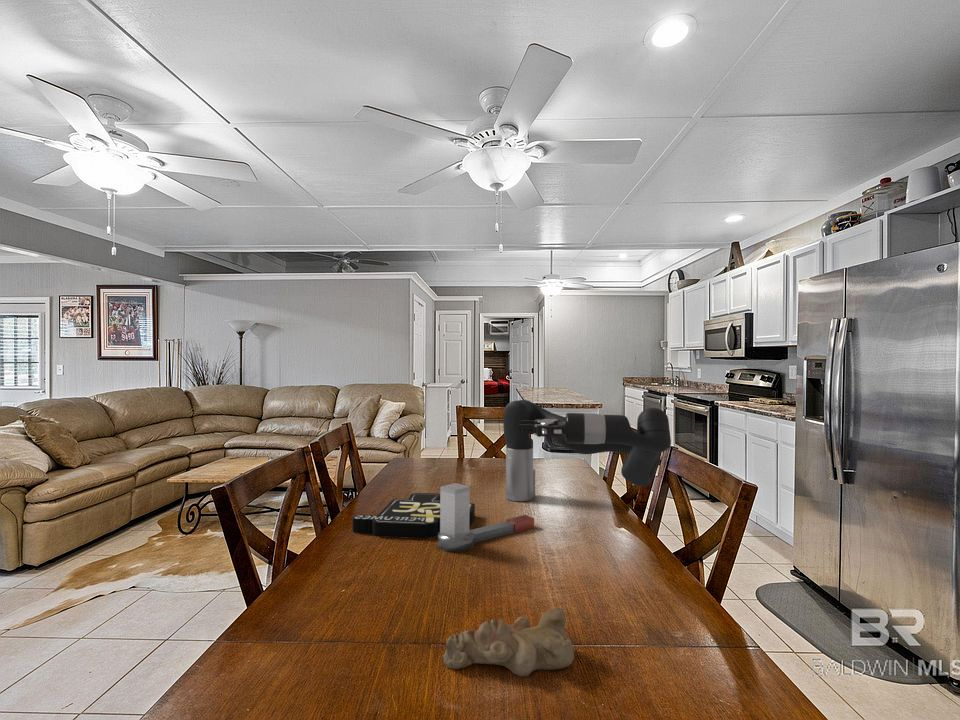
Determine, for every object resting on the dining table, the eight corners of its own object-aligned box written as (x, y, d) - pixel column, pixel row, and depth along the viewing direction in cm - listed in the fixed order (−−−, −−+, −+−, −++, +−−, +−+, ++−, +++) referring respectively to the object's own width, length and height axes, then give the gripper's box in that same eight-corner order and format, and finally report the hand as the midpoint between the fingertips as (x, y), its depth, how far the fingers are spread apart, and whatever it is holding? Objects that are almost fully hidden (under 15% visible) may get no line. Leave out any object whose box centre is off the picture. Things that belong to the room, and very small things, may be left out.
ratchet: (519, 521, 141) (519, 496, 141) (540, 530, 133) (540, 504, 133) (431, 543, 123) (431, 515, 123) (450, 554, 116) (450, 524, 116)
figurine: (580, 642, 70) (442, 643, 69) (577, 689, 71) (441, 691, 70) (562, 592, 82) (444, 592, 81) (560, 632, 83) (443, 633, 82)
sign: (347, 521, 129) (381, 491, 158) (347, 536, 129) (381, 504, 158) (466, 526, 125) (478, 494, 155) (466, 541, 125) (478, 507, 155)
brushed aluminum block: (455, 529, 126) (455, 482, 126) (469, 534, 122) (469, 486, 122) (440, 534, 122) (440, 486, 122) (454, 539, 118) (454, 490, 118)
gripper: (587, 448, 113) (517, 446, 115) (582, 439, 127) (520, 437, 129) (587, 416, 113) (517, 414, 115) (583, 410, 127) (521, 409, 129)
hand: (519, 426), depth 122 cm, fingers open, 8 cm apart
